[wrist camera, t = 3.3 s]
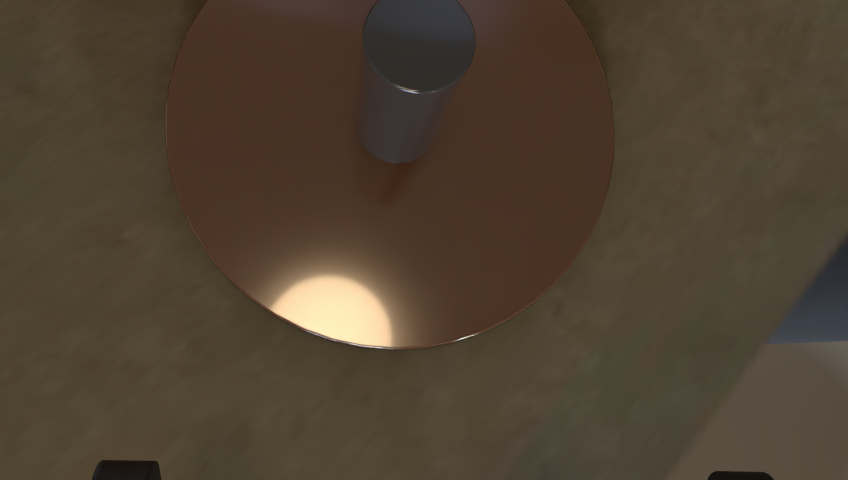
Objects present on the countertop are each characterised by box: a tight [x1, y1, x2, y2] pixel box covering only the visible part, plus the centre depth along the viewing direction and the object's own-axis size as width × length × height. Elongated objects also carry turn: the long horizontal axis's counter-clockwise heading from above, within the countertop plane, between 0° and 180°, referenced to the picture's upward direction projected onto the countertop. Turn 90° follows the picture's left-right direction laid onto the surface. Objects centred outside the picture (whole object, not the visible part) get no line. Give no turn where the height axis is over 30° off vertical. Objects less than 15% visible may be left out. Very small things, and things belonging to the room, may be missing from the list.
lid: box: [165, 0, 615, 350], centre depth 22 cm, size 14×14×8 cm
